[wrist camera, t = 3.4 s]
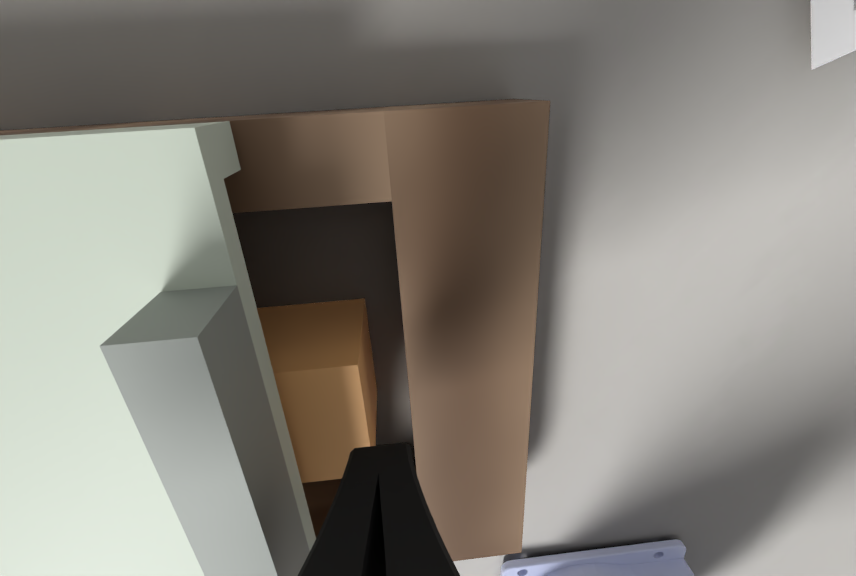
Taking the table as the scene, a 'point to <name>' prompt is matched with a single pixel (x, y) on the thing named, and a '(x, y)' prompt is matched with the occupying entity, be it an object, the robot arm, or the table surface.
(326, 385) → the block
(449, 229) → the puzzle board
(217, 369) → the sliding lid
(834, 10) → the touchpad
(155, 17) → the table surface
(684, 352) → the table surface
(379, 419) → the table surface
